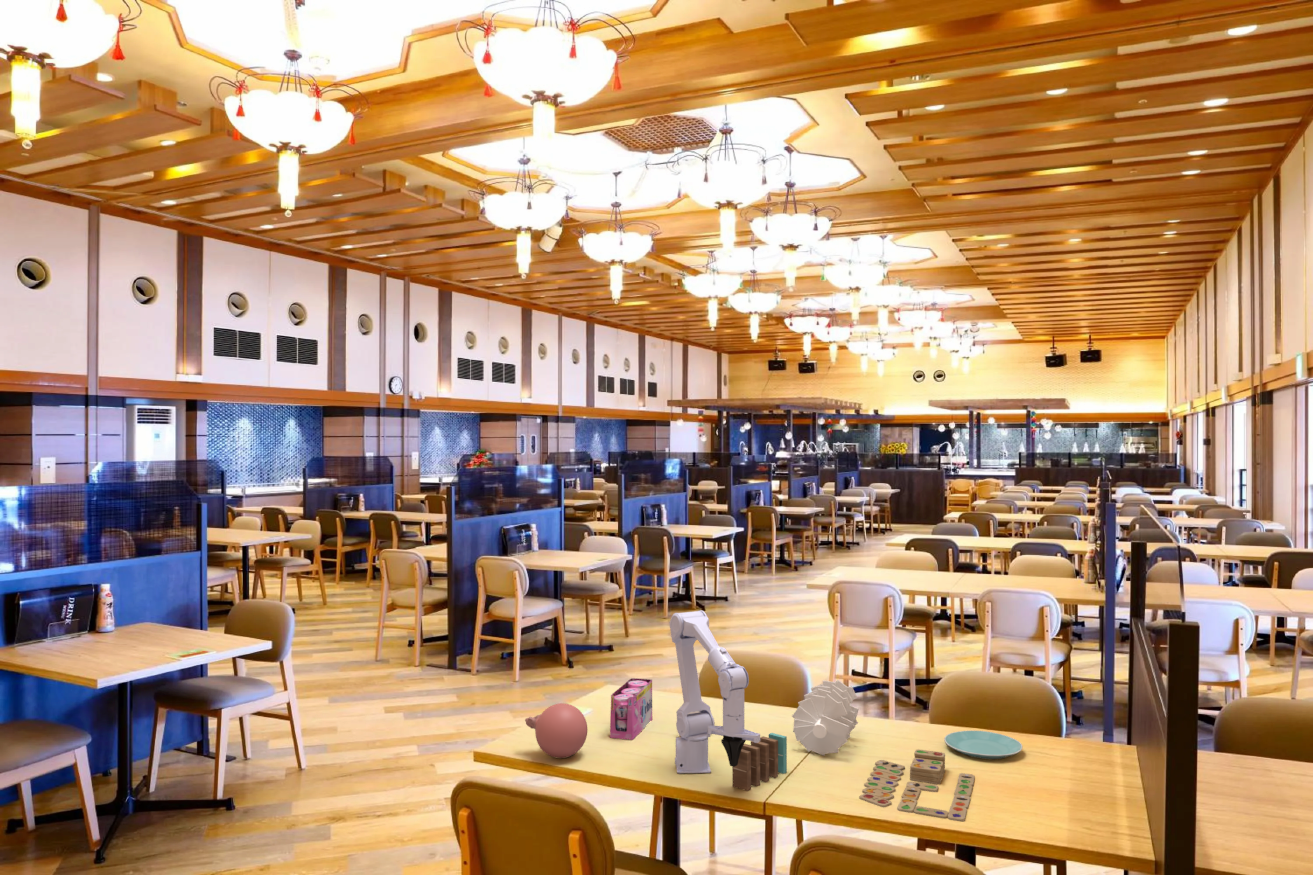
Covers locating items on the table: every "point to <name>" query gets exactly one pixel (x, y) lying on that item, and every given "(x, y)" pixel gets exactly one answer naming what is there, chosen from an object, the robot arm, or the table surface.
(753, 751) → the walnut domino
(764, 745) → the walnut domino
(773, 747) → the walnut domino
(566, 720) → the pink water balloon
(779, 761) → the teal domino
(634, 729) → the gum box
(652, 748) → the table surface
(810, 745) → the spiral staircase
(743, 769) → the walnut domino
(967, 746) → the plate
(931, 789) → the pile of dominoes
